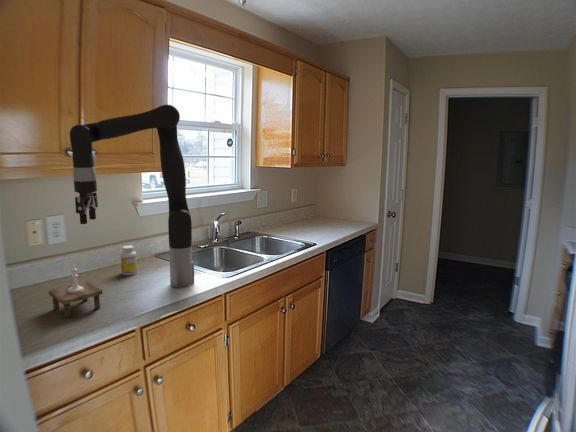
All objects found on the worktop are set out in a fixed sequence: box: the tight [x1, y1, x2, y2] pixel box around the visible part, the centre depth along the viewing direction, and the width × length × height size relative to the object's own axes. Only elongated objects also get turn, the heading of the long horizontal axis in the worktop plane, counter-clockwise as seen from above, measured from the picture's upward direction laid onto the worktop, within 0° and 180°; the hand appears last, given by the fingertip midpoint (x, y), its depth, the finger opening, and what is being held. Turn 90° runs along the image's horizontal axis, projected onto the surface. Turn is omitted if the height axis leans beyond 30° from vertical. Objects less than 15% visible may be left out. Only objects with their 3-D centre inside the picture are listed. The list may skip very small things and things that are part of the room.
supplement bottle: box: [120, 245, 138, 276], centre depth 173 cm, size 7×7×13 cm
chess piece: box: [68, 263, 84, 293], centre depth 134 cm, size 5×5×10 cm
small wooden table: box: [48, 281, 103, 320], centre depth 135 cm, size 13×13×7 cm
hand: (88, 221), depth 143 cm, fingers open, 8 cm apart
